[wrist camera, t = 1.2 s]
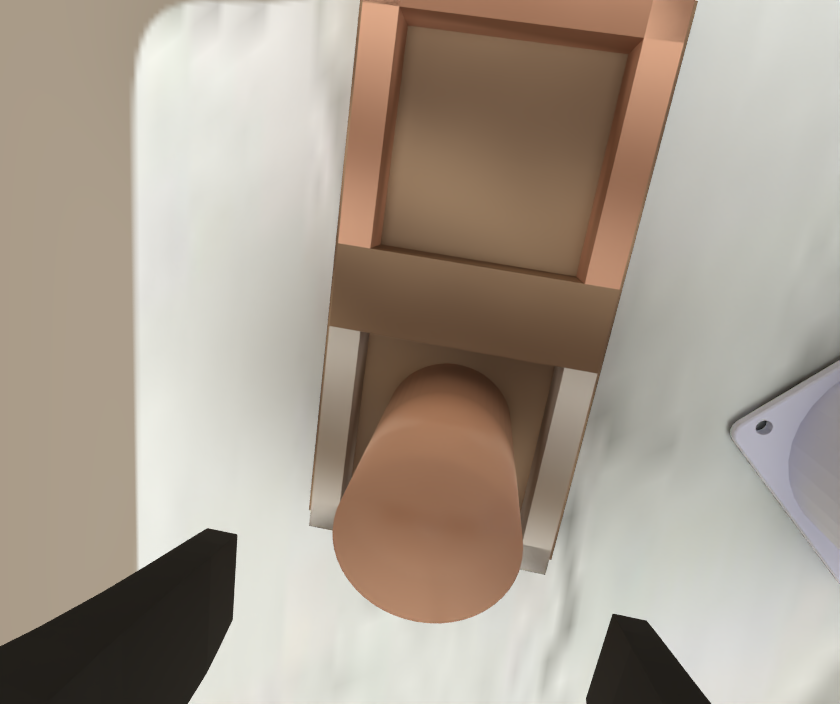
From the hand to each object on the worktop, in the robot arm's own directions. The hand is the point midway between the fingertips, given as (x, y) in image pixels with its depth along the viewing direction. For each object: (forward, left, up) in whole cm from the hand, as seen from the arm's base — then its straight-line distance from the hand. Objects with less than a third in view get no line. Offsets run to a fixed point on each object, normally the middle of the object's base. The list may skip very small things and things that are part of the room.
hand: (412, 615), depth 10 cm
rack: (-3, -3, -10) cm, 11 cm away
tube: (0, 0, -9) cm, 9 cm away
